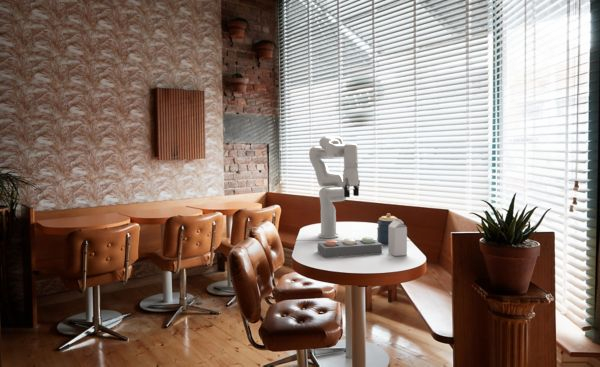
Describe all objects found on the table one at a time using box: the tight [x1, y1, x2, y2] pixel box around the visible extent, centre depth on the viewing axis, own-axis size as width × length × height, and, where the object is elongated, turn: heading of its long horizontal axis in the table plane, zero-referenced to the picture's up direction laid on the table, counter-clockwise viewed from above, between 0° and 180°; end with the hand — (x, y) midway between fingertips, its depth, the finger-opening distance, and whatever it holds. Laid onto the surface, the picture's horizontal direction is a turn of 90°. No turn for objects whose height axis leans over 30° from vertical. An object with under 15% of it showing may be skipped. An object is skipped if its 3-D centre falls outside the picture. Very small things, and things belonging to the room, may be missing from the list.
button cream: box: [343, 238, 356, 245], centre depth 228 cm, size 6×6×3 cm
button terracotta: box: [325, 239, 338, 247], centre depth 225 cm, size 6×6×3 cm
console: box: [317, 239, 383, 259], centre depth 228 cm, size 13×32×5 cm, turn 103°
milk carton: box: [387, 217, 408, 257], centre depth 223 cm, size 7×7×19 cm
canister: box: [376, 212, 397, 246], centre depth 249 cm, size 13×13×18 cm
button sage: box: [361, 236, 374, 244], centre depth 230 cm, size 6×6×3 cm
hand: (351, 196), depth 236 cm, fingers open, 9 cm apart
